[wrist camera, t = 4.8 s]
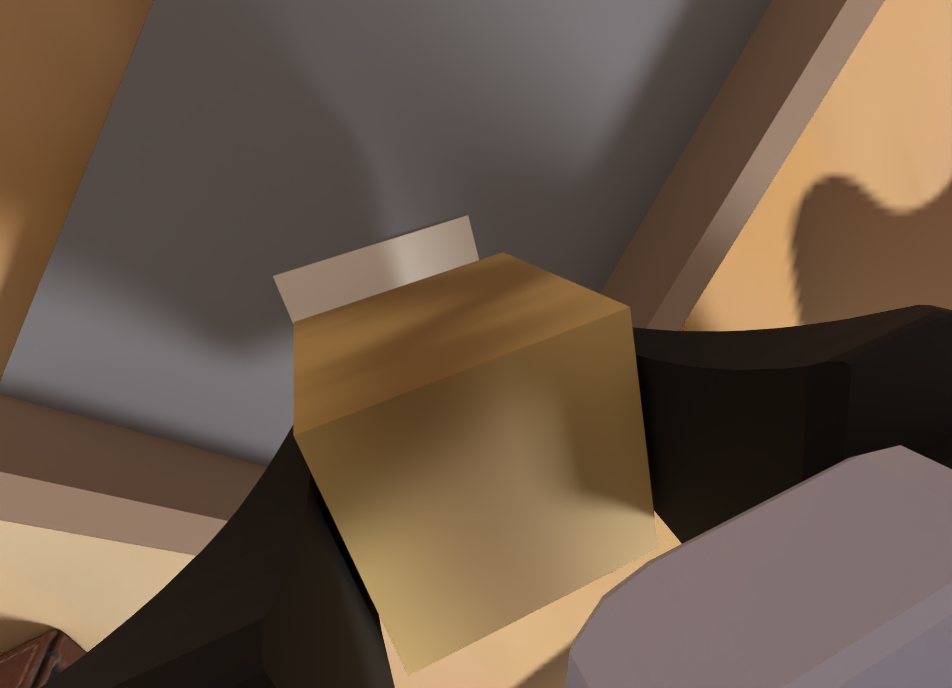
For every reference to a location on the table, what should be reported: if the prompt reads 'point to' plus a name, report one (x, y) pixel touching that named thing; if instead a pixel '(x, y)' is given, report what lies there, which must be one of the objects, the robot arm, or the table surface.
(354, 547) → the ochre block
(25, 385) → the arena
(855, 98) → the table surface
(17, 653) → the letter holder
